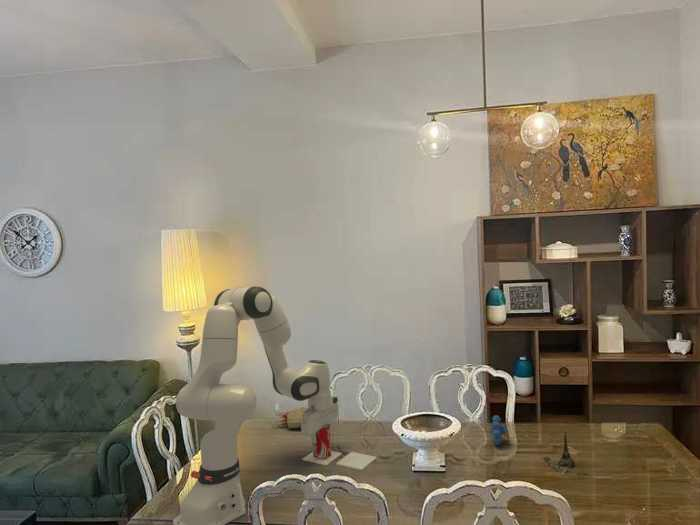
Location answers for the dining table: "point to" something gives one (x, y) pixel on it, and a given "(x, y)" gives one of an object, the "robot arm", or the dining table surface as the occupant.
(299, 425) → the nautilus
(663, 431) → the dining table surface
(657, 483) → the dining table surface
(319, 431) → the soda can
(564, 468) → the eiffel tower figurine
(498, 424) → the blue figurine
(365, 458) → the coaster
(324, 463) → the card
